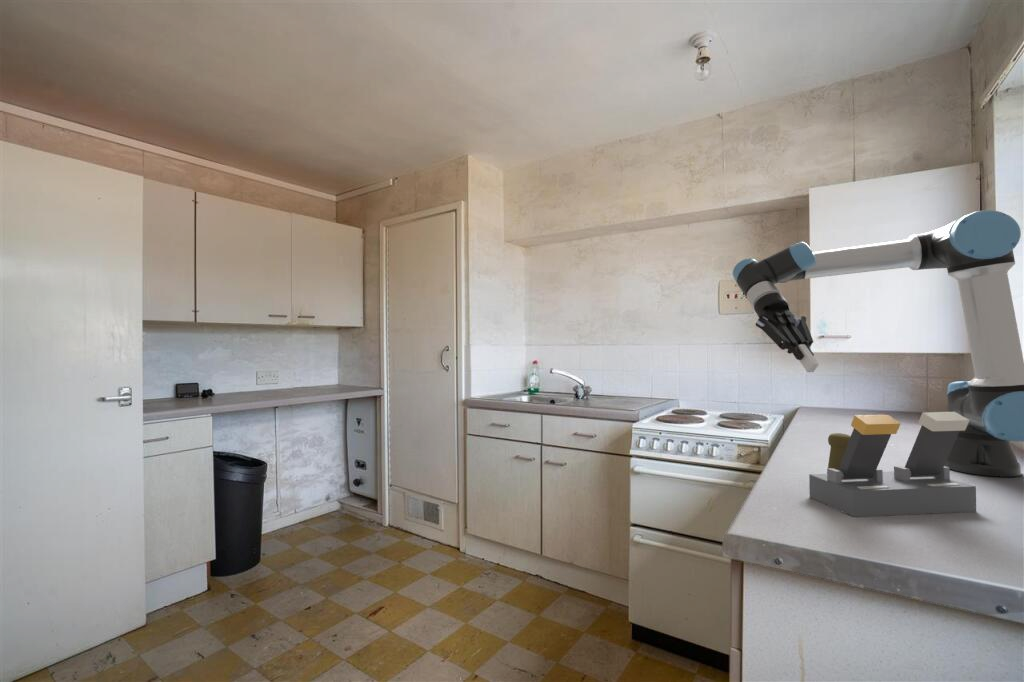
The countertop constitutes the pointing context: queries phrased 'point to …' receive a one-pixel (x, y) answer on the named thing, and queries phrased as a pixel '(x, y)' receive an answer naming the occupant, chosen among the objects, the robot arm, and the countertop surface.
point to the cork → (837, 449)
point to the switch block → (893, 493)
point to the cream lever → (934, 442)
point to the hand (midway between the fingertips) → (813, 368)
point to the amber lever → (866, 445)
